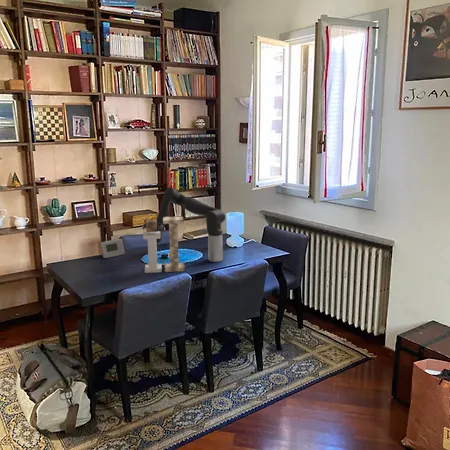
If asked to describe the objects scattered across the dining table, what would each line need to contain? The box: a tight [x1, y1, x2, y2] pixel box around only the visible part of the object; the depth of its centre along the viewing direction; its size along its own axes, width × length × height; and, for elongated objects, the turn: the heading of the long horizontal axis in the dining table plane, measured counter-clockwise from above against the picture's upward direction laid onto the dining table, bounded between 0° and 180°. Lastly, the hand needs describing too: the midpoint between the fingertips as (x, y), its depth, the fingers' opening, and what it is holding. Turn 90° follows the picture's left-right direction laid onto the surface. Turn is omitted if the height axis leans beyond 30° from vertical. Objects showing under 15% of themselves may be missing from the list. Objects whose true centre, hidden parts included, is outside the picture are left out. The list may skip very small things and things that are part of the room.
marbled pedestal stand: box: [163, 216, 186, 273], centre depth 283 cm, size 12×10×32 cm
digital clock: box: [99, 238, 126, 259], centre depth 313 cm, size 16×9×11 cm, turn 120°
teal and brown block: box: [145, 218, 157, 232], centre depth 284 cm, size 6×20×6 cm, turn 7°
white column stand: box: [142, 231, 163, 274], centre depth 282 cm, size 10×10×23 cm
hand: (151, 222), depth 285 cm, fingers closed on teal and brown block, 2 cm apart
